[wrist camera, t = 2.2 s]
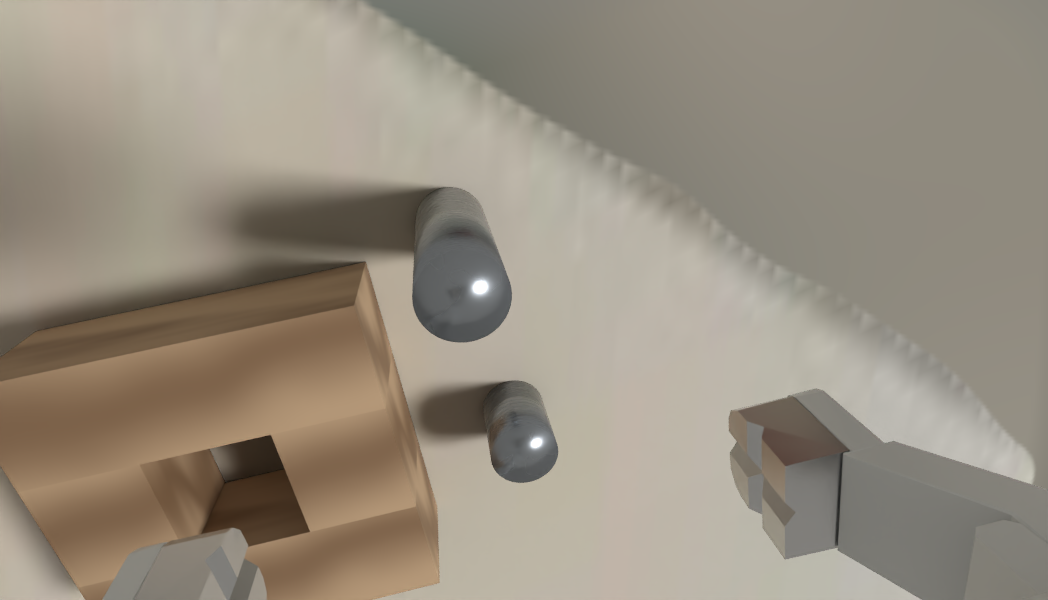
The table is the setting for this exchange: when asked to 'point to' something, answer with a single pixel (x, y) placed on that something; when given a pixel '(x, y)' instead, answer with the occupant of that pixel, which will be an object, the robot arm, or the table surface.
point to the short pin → (519, 432)
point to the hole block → (226, 438)
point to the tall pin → (457, 269)
